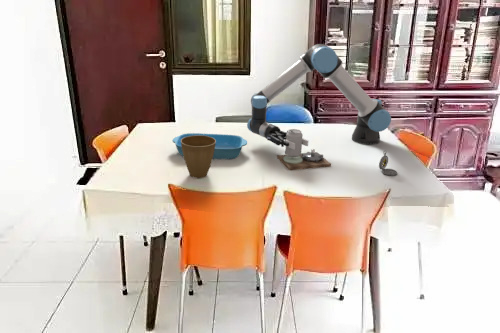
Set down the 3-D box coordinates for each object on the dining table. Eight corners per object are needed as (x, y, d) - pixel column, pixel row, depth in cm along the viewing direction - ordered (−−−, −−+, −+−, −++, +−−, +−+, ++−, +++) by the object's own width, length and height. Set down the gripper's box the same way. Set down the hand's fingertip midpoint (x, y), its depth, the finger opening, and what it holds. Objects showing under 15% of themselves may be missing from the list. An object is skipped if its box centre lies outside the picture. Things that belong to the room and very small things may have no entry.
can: (283, 152, 207) (285, 128, 203) (299, 152, 208) (301, 128, 203) (286, 157, 200) (288, 133, 196) (302, 157, 201) (304, 133, 196)
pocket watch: (397, 176, 193) (401, 156, 190) (378, 175, 195) (381, 154, 191) (395, 170, 201) (399, 149, 197) (377, 168, 202) (380, 148, 199)
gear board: (316, 154, 217) (317, 152, 216) (330, 166, 203) (331, 163, 202) (277, 158, 211) (277, 155, 211) (288, 170, 197) (288, 167, 197)
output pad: (298, 156, 210) (298, 154, 210) (305, 163, 202) (305, 161, 202) (280, 157, 208) (280, 155, 207) (287, 164, 200) (287, 162, 199)
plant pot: (187, 183, 181) (186, 147, 175) (178, 170, 194) (176, 137, 188) (220, 178, 187) (220, 143, 181) (209, 166, 199) (209, 133, 193)
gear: (318, 154, 214) (318, 145, 212) (327, 161, 204) (328, 152, 203) (298, 155, 211) (298, 146, 209) (306, 163, 202) (307, 154, 200)
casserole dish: (247, 146, 226) (247, 133, 224) (246, 162, 206) (246, 148, 203) (177, 144, 227) (176, 131, 224) (169, 160, 206) (168, 146, 203)
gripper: (285, 135, 222) (316, 148, 205) (253, 142, 211) (283, 156, 194) (286, 121, 219) (317, 133, 202) (253, 127, 208) (284, 140, 191)
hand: (301, 144), depth 198 cm, fingers closed on can, 7 cm apart
